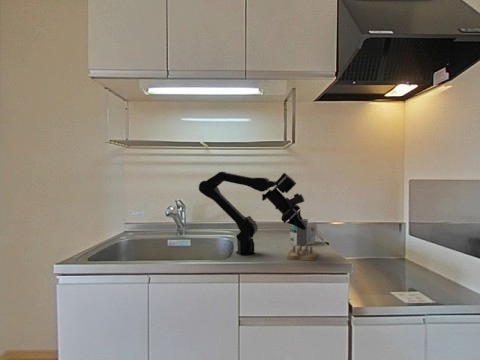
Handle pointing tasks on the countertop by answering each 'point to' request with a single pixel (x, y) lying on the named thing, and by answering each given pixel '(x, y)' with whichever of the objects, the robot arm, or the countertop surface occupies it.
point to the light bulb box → (310, 233)
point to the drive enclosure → (302, 233)
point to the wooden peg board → (302, 253)
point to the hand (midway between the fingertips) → (305, 228)
